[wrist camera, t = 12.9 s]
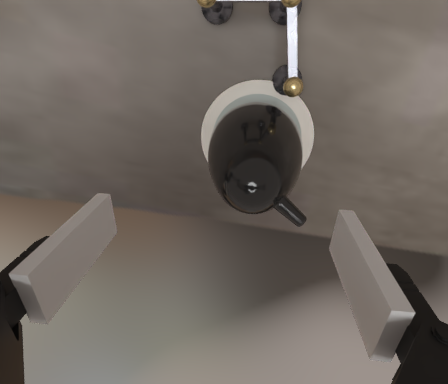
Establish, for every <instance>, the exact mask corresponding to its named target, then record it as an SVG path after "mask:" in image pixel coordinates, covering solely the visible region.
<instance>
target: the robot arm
mask: <svg viewBox="0 0 448 384" xmlns="http://www.w3.org/2000/svg"><path fill="white" fill-rule="evenodd" d="M116 234H117V227H116V222H115V217H114V212H113V206H112V201H111V196H110V194H103V193H97V194H96V195H95V196H94V197H93V198H92V199H91V200H90V201H88V202H87V203H86V204H85V205H84V206H83V207H82V208H81V209H80V210H79V211H77V212H76V213H75V214H74V215H73V216H72V217H71V218H70V219H69V220H68V221H66V222H65V223H64V224H63V225H62V226H61V227H60V228H59V229H58V230H56V231H55V232H54V233H53V234H52V235H51V236H46V237H44V238H42V239H40V240H38V241H36V242H34V243H33V244H32V245H31V246H30V247H29V248H28V249H27V250H26V251H24V252H23V253H22V254H21V255H20V257H17V258H16V259H15V260H14V261H13V262H11V263H10V264H9V265H8V266H7V267H6V268H5V269H3V270H2V271H1V272H0V384H24V362H23V337H22V325H21V322H20V320H21V318H22V317H23V316H24V315H25V314H26V313H27V316H28V318H29V320H30V322H32V323H40V324H48V323H49V322H50V321H51V319H52V318H53V317H54V315H55V314H56V313H57V311H58V310H59V309H60V307H61V306H62V305H63V303H64V302H65V301H66V299H67V298H68V297H69V296H70V294H71V293H72V292H73V290H74V289H75V288H76V286H77V285H78V284H79V282H80V281H81V279H82V278H83V277H84V276H85V274H86V273H87V272H88V271H89V269H90V268H91V267H92V265H93V264H94V263H95V261H96V260H97V259H98V257H99V256H100V255H101V253H102V252H103V251H104V249H105V248H106V247H107V245H108V244H109V243H110V241H111V240H112V239H113V237H114V236H115V235H116ZM329 250H330V253H331V255H332V258H333V261H334V264H335V266H336V269H337V272H338V275H339V277H340V280H341V283H342V285H343V288H344V291H345V294H346V296H347V299H348V302H349V304H350V307H351V310H352V312H353V315H354V318H355V321H356V323H357V326H358V329H359V331H360V334H361V337H362V340H363V342H364V345H365V348H366V351H367V353H368V356H369V359H370V360H375V361H384V362H391V361H392V359H393V357H394V355H395V353H396V354H397V356H398V358H399V360H400V363H401V364H400V366H399V368H398V370H397V372H396V374H395V376H394V377H393V379H392V380H393V381H392V383H391V384H448V324H446V323H444V322H441V321H440V320H439V319H438V318H437V316H436V315H435V313H434V312H433V310H432V309H431V307H430V306H429V304H428V303H427V301H426V300H425V299H424V297H423V295H422V294H421V293H420V292H419V290H418V288H417V287H416V285H415V284H414V283H413V281H412V279H411V278H410V276H409V275H408V273H407V272H405V271H404V270H403V269H402V268H401V267H399V266H398V265H397V264H387V263H385V262H384V260H383V259H382V257H381V255H380V254H379V252H378V250H377V249H376V247H375V245H374V244H373V242H372V240H371V239H370V237H369V235H368V234H367V232H366V231H365V229H364V227H363V226H362V224H361V222H360V221H359V219H358V217H357V216H356V214H355V212H354V211H353V210H339V211H338V215H337V219H336V223H335V228H334V232H333V236H332V240H331V244H330V248H329Z"/></svg>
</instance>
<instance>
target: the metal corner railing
mask: <svg viewBox="0 0 448 384" xmlns="http://www.w3.org/2000/svg"><path fill="white" fill-rule="evenodd" d="M197 2H198V3H199V5H200V6H202V12H203V14H204V16H205V18H206V19H207V20H208V21H209V22H211V23H213V24H222V23H224V22H226V21H227V20H228V19H229V17H230V16H231V13H232V9H233V4H232V2H270V5H269V12H270V16H271V18H272V19H273V21H274V22H276V23H277V24H280V25H286V24H287V65H283V66H281V67H280V68H278V69H277V70H276V72H275V73H274V76H273V86H274V89H275V90H276V91H277V92H278V93H279V94H281V95H285V96H286V95H287V96H288V97H296V96H298V95H299V94H300V93H301V92H302V90H303V82H302V76H301V73H300V71H299V70H298V68H297V16H298V15H299V13H300V10H301V6H302V1H301V0H197Z"/></svg>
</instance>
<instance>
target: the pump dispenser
mask: <svg viewBox="0 0 448 384" xmlns="http://www.w3.org/2000/svg"><path fill="white" fill-rule="evenodd" d="M302 159H303V146H302V139H301V135H300V132H299V130H298V127H297V125H296V124H295V122H294V121H293V119H292V118H291V117H290V116H289V115H288V114H287V113H286V112H285V111H283V110H282V109H280V108H279V107H277V106H274V105H272V104H268V103H263V102H250V103H245V104H241V105H239V106H236V107H234V108H233V109H231V110H229V111H228V112H227V113H226V114H224V115H223V116H222V118H221V119H220V120H219V121H218V123H217V124H216V126H215V127H214V129H213V132H212V134H211V137H210V141H209V148H208V165H209V170H210V174H211V177H212V180H213V183H214V185H215V188H216V190H217V191H218V193H219V195H220V196H221V197H222V199H223V200H224V201H225V202H226V203H227V204H228V205H229V206H231V207H232V208H234V209H235V210H237V211H239V212H242V213H246V214H261V213H265V212H268V211H270V210H272V209H273V208H274V209H276V210H277V211H278V212H280V213H281V214H282V215H283V216H285V217H286V218H287V219H289V220H290V221H291V222H292V223H294V224H295V225H296V226H298V227H300V226H302V225H303V224H304V223H305V222H306V216H305V215H304V214H303V213H302V212H301V211H300V210H299V209H298V208H297V207H296V206H295V205H294V204H293V203H292V202H291V201H290V200H289V199H288V198H287V196H288V195H289V194H290V192H291V191H292V190H293V188H294V186H295V184H296V182H297V180H298V177H299V174H300V171H301V167H302Z"/></svg>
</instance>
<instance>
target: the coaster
mask: <svg viewBox="0 0 448 384" xmlns="http://www.w3.org/2000/svg"><path fill="white" fill-rule="evenodd" d="M250 102H263V103H268V104H272V105H274V106H277V107H279V108H280V109H282V110H283V111H285V112H286V113H287V114H288V115H289V116H290V117H291V118H292V119H293V121H294V122H295V124H296V125H297V127H298V130H299V132H300V135H301V139H302V146H303V159H302V167H303V166H304V165H305V163H306V161H307V160H308V158H309V156H310V153H311V150H312V147H313V142H314V126H313V121H312V118H311V115H310V112H309V110H308V108H307V106H306V105H305V103H304V102H303V101H302V99H301V98H300V97H299V96H296V97H288V96H287V95H286V96H285V95H281V94H279V93H278V92H277V91H276V90H275V89H274V86H273V81H270V80H261V79H258V80H248V81H244V82H241V83H238V84H235V85H233V86H231V87H229V88H228V89H227V90H225V91H224V92H222V93H221V94H220V95H219V96H218V97H217V98H216V99H215V100H214V102H213V103H212V104H211V106H210V107H209V109H208V111H207V113H206V115H205V117H204V120H203V124H202V129H201V142H202V148H203V152H204V155H205V158H206V159H207V161H208V148H209V141H210V137H211V134H212V132H213V129H214V127H215V126H216V124H217V123H218V121H219V120H220V119H221V118H222V116H223V115H224V114H226V113H227V112H228V111H229V110H231V109H233V108H234V107H236V106H239V105H241V104H245V103H250ZM302 167H301V169H302Z"/></svg>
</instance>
